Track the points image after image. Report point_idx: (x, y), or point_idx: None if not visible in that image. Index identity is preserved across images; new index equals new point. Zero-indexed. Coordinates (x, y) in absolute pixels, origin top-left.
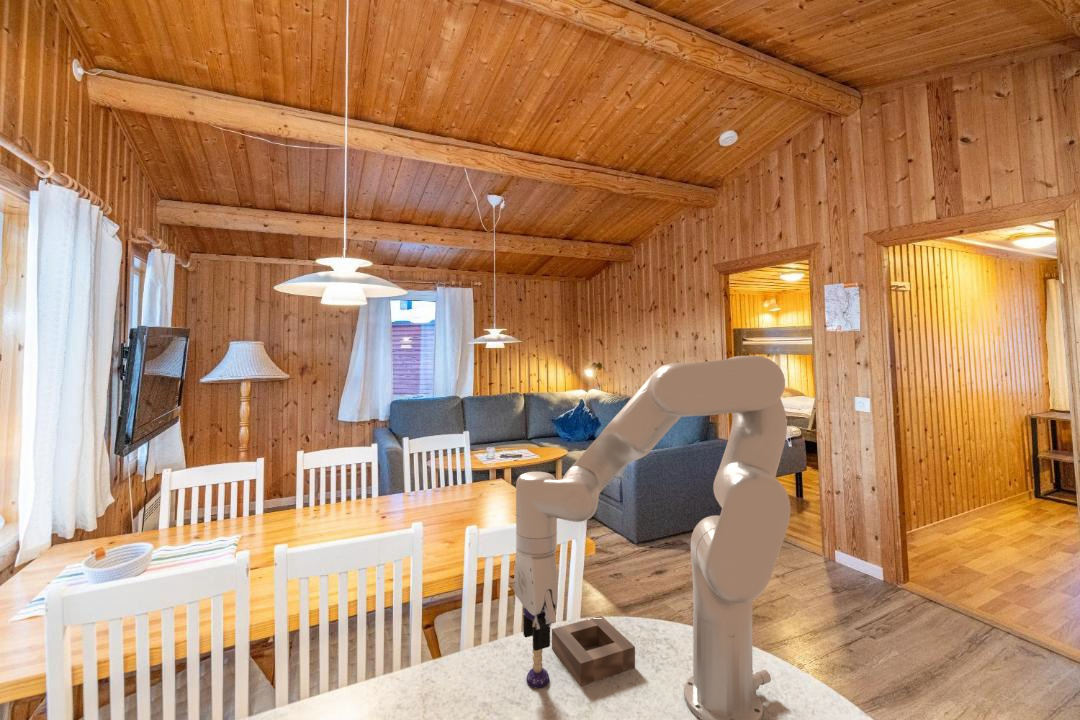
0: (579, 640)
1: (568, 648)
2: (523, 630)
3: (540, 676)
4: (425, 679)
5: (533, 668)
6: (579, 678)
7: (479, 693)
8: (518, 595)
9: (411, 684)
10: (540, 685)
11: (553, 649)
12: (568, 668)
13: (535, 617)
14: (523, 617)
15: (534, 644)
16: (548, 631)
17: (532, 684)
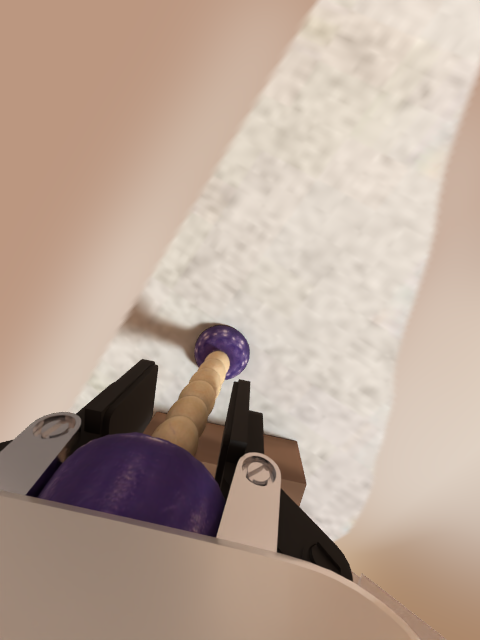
0: None
1: (202, 462)
2: (249, 391)
3: (200, 354)
4: (430, 84)
5: (218, 351)
6: (157, 420)
7: (269, 206)
8: (210, 610)
9: (443, 27)
10: (196, 343)
11: (288, 441)
12: (211, 425)
13: (15, 470)
14: (246, 432)
15: (130, 369)
16: None
17: (208, 329)
